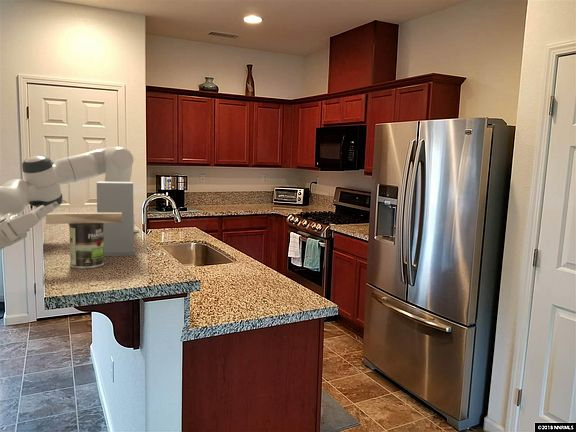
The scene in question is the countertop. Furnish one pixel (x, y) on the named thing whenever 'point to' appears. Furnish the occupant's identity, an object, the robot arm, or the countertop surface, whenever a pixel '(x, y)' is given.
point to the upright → (122, 234)
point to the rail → (84, 218)
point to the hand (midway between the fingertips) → (55, 205)
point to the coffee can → (86, 245)
